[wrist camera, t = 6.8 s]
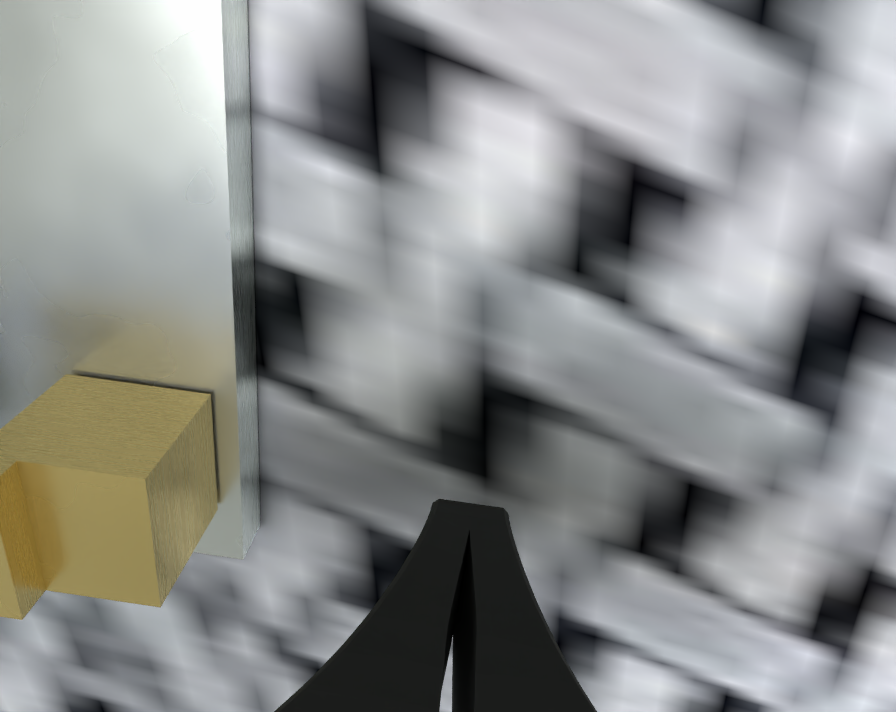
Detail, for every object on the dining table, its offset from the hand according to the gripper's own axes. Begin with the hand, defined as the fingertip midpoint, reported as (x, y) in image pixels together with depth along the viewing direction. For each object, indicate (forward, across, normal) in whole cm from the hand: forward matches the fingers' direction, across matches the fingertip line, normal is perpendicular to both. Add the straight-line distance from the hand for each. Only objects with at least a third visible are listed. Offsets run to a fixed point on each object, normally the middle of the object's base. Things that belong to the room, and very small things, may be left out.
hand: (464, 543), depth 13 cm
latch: (+2, +8, 0) cm, 8 cm away
